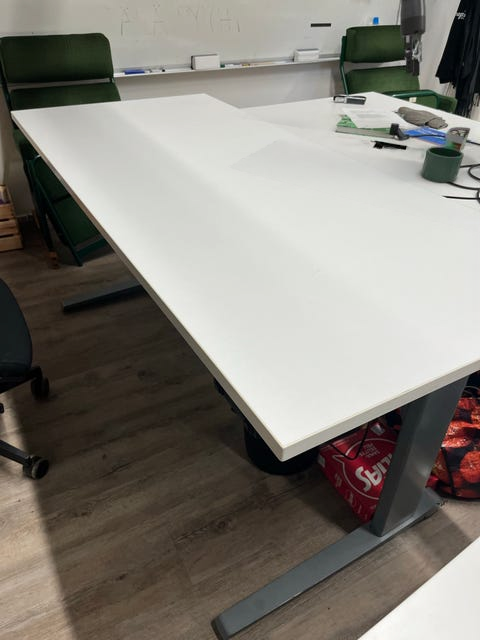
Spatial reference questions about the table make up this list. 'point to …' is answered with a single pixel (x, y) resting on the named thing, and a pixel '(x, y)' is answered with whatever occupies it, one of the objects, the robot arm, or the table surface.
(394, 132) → the lid
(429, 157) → the pot
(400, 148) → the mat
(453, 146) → the food container
